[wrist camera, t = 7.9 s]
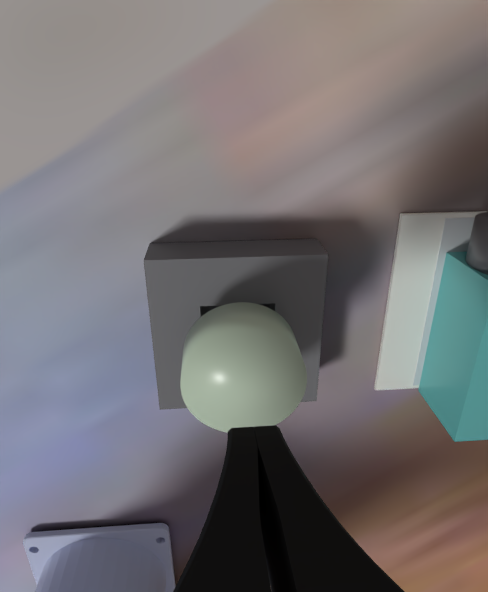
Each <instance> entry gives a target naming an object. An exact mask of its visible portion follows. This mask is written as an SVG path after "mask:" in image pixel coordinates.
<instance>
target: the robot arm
mask: <svg viewBox="0 0 488 592" xmlns="http://www.w3.org/2000/svg"><path fill="white" fill-rule="evenodd" d="M23 545H24V548H25V551H26V554H27V557H28V560H29V563H30V566H31V569H32V572H33V575H34V578H35V581H36V584H37V587H36V590H35V592H271V591H272V592H404V591H403V590H402V589H401V588H400V587H399V586H398V585H397V584H396V583H395V582H394V581H393V580H392V579H391V578H390V577H389V576H388V575H387V574H386V573H385V572H384V571H383V570H382V569H381V568H380V567H379V566H378V565H377V564H376V563H375V562H374V561H373V560H372V559H371V558H370V557H369V556H368V555H367V554H366V553H365V551H364V550H363V549H362V548H361V547H360V546H359V545H358V544H357V543H356V542H355V540H354V539H353V538H352V537H351V536H350V535H349V533H348V532H347V531H346V530H345V529H344V528H343V526H342V525H341V524H340V523H339V521H338V520H337V519H336V518H335V516H334V515H333V514H332V512H331V511H330V510H329V508H328V507H327V506H326V504H325V503H324V502H323V500H322V499H321V498H320V496H319V495H318V493H317V492H316V491H315V489H314V488H313V486H312V485H311V483H310V482H309V480H308V479H307V477H306V476H305V474H304V473H303V471H302V469H301V468H300V466H299V465H298V463H297V461H296V460H295V458H294V456H293V454H292V453H291V451H290V449H289V447H288V445H287V444H286V442H285V440H284V438H283V436H282V433H281V431H280V429H279V428H278V427H277V426H276V425H273V426H256V427H238V428H231V429H230V430H229V431H228V442H227V450H226V456H225V461H224V465H223V469H222V473H221V477H220V480H219V484H218V487H217V491H216V494H215V497H214V500H213V502H212V505H211V508H210V511H209V514H208V517H207V519H206V522H205V524H204V527H203V529H202V532H201V534H200V537H199V539H198V541H197V544H196V546H195V548H194V550H193V553H192V555H191V557H190V559H189V561H188V563H187V565H186V567H185V569H184V571H183V573H182V575H181V577H180V579H179V581H178V583H177V585H175V576H174V567H173V559H172V550H171V541H170V532H169V527H168V526H167V525H166V524H164V523H151V524H137V525H123V526H109V527H95V528H81V529H67V530H53V531H39V532H30V533H28V534H26V536H25V538H24V541H23ZM270 586H271V587H270Z"/></svg>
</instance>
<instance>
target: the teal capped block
mask: <svg viewBox="0 0 488 592" xmlns="http://www.w3.org/2000/svg"><path fill="white" fill-rule="evenodd" d="M418 391H419V392H420V393H421V395H422V396H423V398H424V399H425V400H426V402H427V403H428V405H429V406H430V408H431V409H432V410H433V412H434V413H435V415H436V416H437V418H438V419H439V420H440V422H441V423H442V425H443V426H444V427H445V429H446V430H447V432H448V433H449V435H450V436H451V437H452V439H453V440H454V442H458V441H474V440H488V212H483V213H479V214H477V215H476V216H475V219H474V223H473V228H472V232H471V237H470V241H469V246H468V250H467V252H446V257H445V262H444V267H443V272H442V277H441V282H440V287H439V291H438V296H437V301H436V306H435V311H434V316H433V321H432V326H431V331H430V336H429V341H428V345H427V350H426V355H425V360H424V365H423V370H422V375H421V380H420V385H419V390H418Z"/></svg>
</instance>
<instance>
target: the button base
mask: <svg viewBox="0 0 488 592" xmlns="http://www.w3.org/2000/svg"><path fill="white" fill-rule="evenodd" d="M327 266H328V253H327V252H326V251H325V249H324V248H323V247H322V245H321V244H320V242H319V241H318V240H317V239H285V240H250V241H215V242H181V243H150V244H149V247H148V250H147V253H146V255H145V258H144V268H145V277H146V286H147V296H148V305H149V314H150V323H151V332H152V342H153V351H154V360H155V369H156V378H157V388H158V397H159V406H160V409H178V408H187V406H186V404H185V403H184V400H183V397H182V394H181V388H180V381H181V369H182V358H183V348H184V342H185V339H186V336H187V334H188V332H189V330H190V329H191V327H192V326H193V325H194V323H195V322H196V321H197V320H198V319H199V318H200V317H202V316H203V315H204V314H206V313H207V312H209V311H210V310H212V309H214V308H216V307H219V306H222V305H225V304H230V303H237V302H248V303H255V304H259V305H263V306H265V307H268V308H270V309H272V310H273V311H275V312H277V313H278V314H279V315H281V316H282V317H283V318H284V319H285V320H286V321H287V323H288V324H289V325H290V327H291V329H292V331H293V333H294V336H295V339H296V341H297V344H298V347H299V350H300V353H301V355H302V358H303V361H304V364H305V367H306V372H307V385H306V390H305V393H304V396H303V398H302V400H301V402H307V401H316V400H317V388H318V376H319V364H320V351H321V339H322V327H323V315H324V303H325V290H326V278H327Z"/></svg>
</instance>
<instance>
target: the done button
mask: <svg viewBox="0 0 488 592" xmlns="http://www.w3.org/2000/svg"><path fill="white" fill-rule="evenodd" d="M306 385H307V372H306V367H305V364H304V361H303V358H302V355H301V353H300V350H299V347H298V344H297V341H296V339H295V336H294V333H293V331H292V329H291V327H290V325H289V324H288V323H287V321H286V320H285V319H284V318H283V317H282V316H281V315H279V314H278V313H277V312H275V311H273V310H272V309H270V308H268V307H265V306H263V305H259V304H255V303H248V302H237V303H230V304H225V305H222V306H219V307H216V308H214V309H212V310H210V311H209V312H207V313H206V314H204V315H203V316H202V317H200V318H199V319H198V320H197V321H196V322H195V323H194V325H193V326H192V327H191V329H190V330H189V332H188V334H187V336H186V339H185V342H184V348H183V358H182V369H181V381H180V388H181V394H182V397H183V400H184V403H185V404H186V406H187V408H188V409H189V411H190V412H191V413H192V414H193V415H194V416H195V417H196V418H197V419H198V420H199V421H201V422H202V423H204V424H205V425H207V426H209V427H211V428H213V429H216V430H219V431H223V432H227V433H228V431H229V430H230V429H231V428H238V427H256V426H273V425H276V424H278V423H280V422H281V421H283V420H284V419H286V418H287V417H288V416H289V415H290V414H291V413H292V412H293V411H294V410H295V409H296V408H297V407H298V405H299V403H300V402H301V400H302V398H303V396H304V393H305V390H306Z"/></svg>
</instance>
